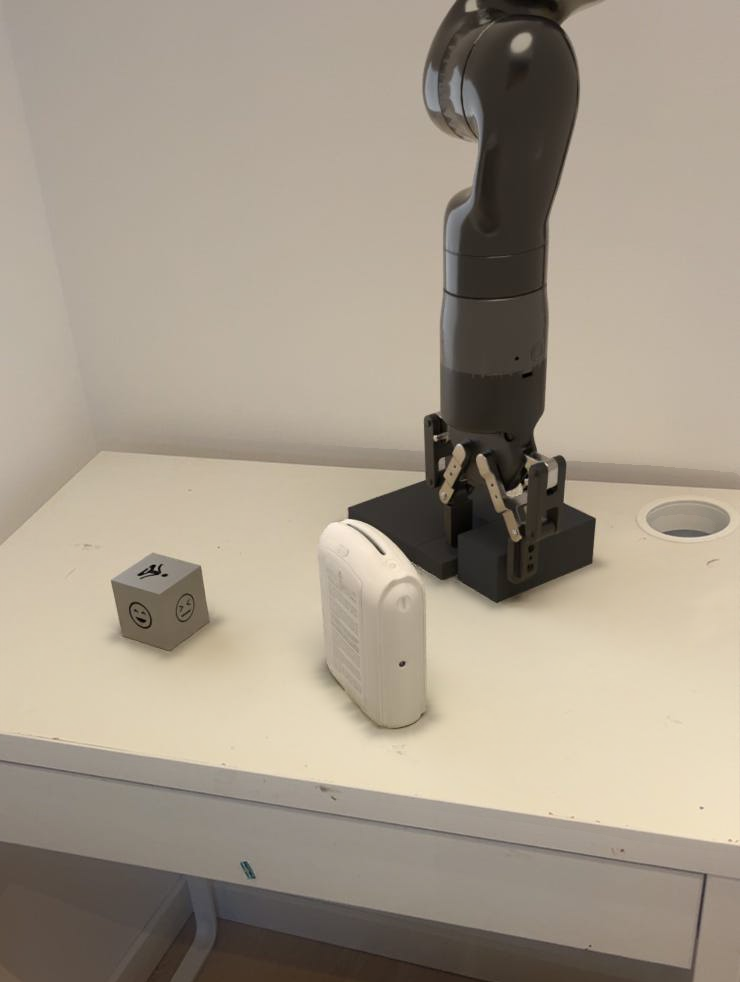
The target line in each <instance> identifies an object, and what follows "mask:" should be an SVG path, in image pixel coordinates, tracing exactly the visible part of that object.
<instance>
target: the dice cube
mask: <svg viewBox="0 0 740 982" xmlns="http://www.w3.org/2000/svg"><path fill="white" fill-rule="evenodd" d="M110 585H111V588H112V593H113V599H114V602H115V607H116V612H117V617H118V621H119V627H120V633H121V636H122V637H124V638H128V639H131V640H134V641H138V642H141V643H143V644H147V645H150V646H153V647H156V648H159V649H162V650H165V651H169V652H171V651H172V650H173V649H175V648H176V647H177V646H179V645H180V644H181V643H182V642H184V641H185V640H187V639H188V638H189V637H190V636H192V635H194V634H196V632H197V631H198V630H200V629H202V628H203V627H204V626H206V625H207V624H208V623H210V615H209V609H208V602H207V596H206V590H205V589H206V588H205V583H204V575H203V569H202V565H200V564H197V563H193V562H190V561H186V560H182V559H179V558H174V557H171V556H168V555H164V554H159V553H156V552H151V553H149V554H148V555H146V556H145V557H144V558H142V559H140V560H139V561H136V563H134V564H133V565H131V566H130V567H128V568H127V569H125V570H123V571H122V572H121V573H119V574H118V575H116V576H115V577H113V578H111V579H110Z"/></svg>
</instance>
